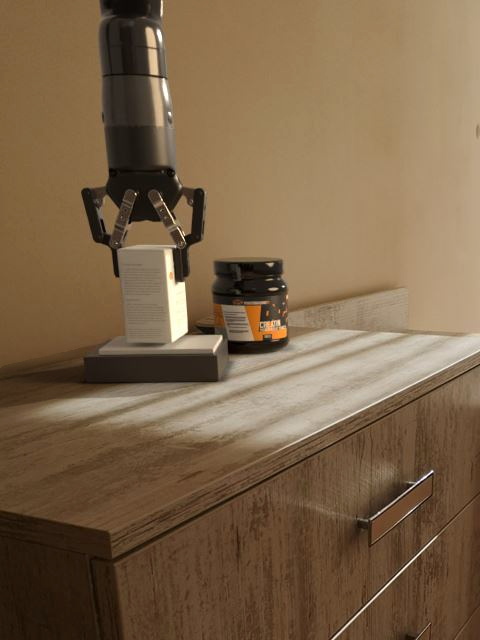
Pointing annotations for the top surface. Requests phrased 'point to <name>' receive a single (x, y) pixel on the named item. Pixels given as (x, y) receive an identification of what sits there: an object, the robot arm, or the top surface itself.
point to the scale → (158, 360)
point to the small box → (151, 294)
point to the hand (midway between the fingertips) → (152, 281)
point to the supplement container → (251, 304)
